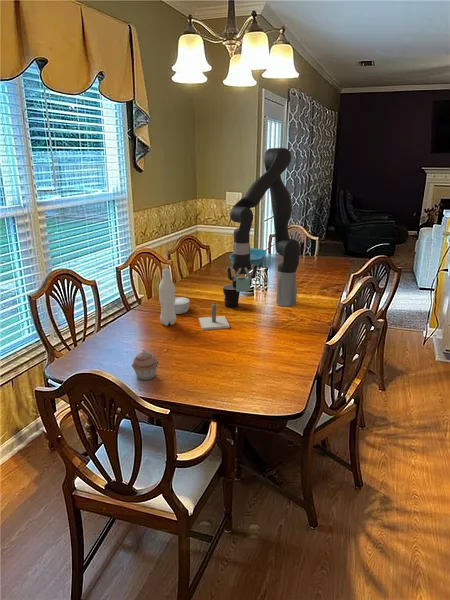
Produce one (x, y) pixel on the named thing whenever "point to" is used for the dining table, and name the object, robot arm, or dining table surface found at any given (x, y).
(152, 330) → the dining table surface
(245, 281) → the collar
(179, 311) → the ramekin
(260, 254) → the casserole dish
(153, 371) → the cupcake
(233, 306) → the coffee mug
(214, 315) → the post stand
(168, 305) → the water bottle
